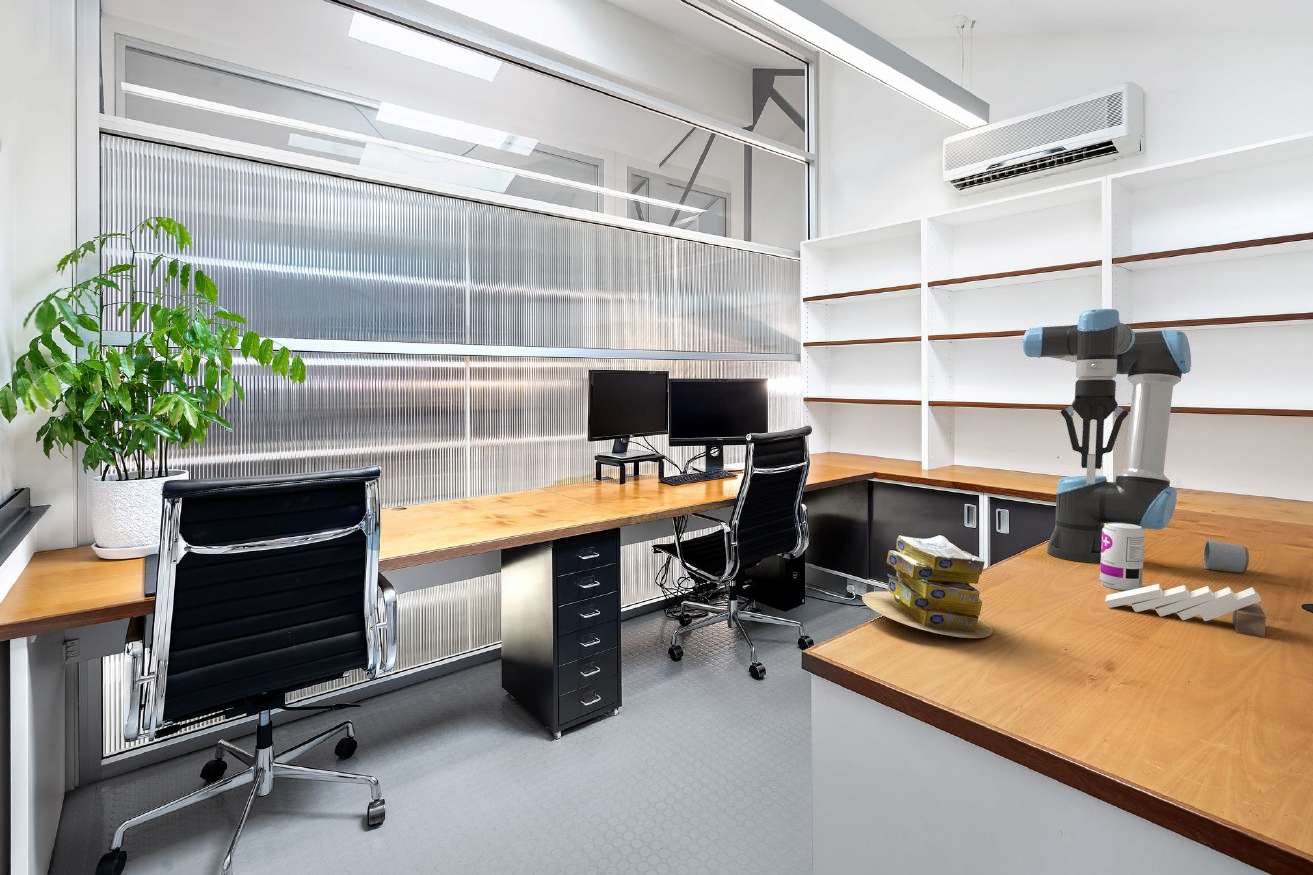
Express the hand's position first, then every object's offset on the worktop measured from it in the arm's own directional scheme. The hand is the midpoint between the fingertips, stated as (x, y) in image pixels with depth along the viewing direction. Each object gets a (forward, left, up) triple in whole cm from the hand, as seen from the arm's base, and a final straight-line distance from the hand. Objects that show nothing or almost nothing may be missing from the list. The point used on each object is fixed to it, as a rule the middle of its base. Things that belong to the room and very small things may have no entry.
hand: (1090, 482), depth 145 cm
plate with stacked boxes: (-24, -40, -27) cm, 54 cm away
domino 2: (+9, -4, -26) cm, 28 cm away
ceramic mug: (+26, +50, -27) cm, 62 cm away
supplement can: (+6, +14, -27) cm, 31 cm away
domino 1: (+4, -4, -26) cm, 26 cm away
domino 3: (+13, -4, -26) cm, 29 cm away
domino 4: (+17, -4, -26) cm, 31 cm away
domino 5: (+20, -4, -25) cm, 33 cm away
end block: (+27, -4, -26) cm, 38 cm away
